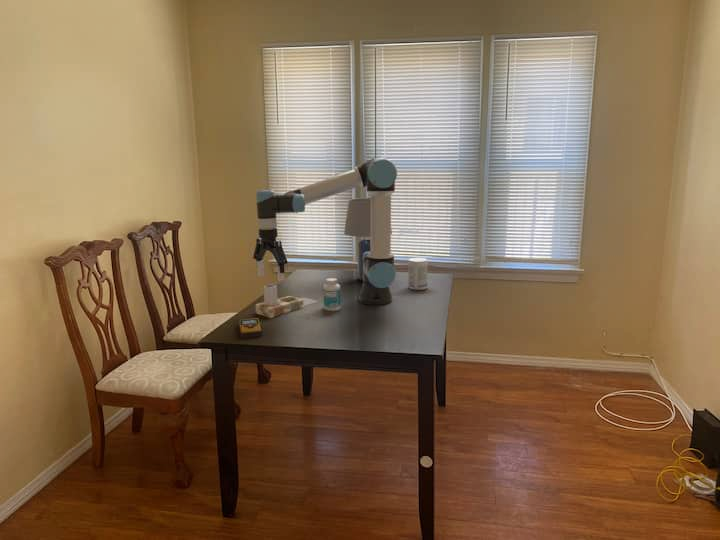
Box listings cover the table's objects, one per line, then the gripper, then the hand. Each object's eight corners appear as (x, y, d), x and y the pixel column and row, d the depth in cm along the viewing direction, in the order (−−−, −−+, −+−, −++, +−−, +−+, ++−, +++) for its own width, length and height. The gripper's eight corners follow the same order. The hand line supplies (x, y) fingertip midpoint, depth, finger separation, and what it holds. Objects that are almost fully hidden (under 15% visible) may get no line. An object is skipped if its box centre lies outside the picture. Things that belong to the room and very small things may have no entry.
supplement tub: (427, 286, 265) (428, 257, 262) (426, 290, 256) (427, 261, 253) (408, 285, 267) (409, 257, 264) (407, 290, 258) (407, 261, 254)
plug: (278, 313, 222) (276, 284, 219) (270, 315, 219) (269, 286, 216) (272, 311, 224) (271, 283, 222) (264, 313, 222) (263, 284, 219)
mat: (318, 302, 237) (318, 301, 237) (302, 307, 230) (302, 306, 230) (304, 298, 244) (304, 297, 244) (287, 302, 237) (287, 301, 237)
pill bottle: (333, 305, 232) (332, 276, 229) (344, 309, 227) (343, 279, 224) (320, 309, 227) (319, 279, 224) (331, 312, 222) (330, 282, 219)
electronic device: (240, 340, 192) (239, 332, 191) (238, 326, 206) (237, 318, 206) (263, 338, 194) (262, 329, 193) (259, 324, 209) (259, 316, 208)
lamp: (348, 273, 292) (348, 197, 283) (393, 274, 289) (394, 197, 279) (341, 284, 268) (339, 201, 258) (389, 286, 265) (390, 202, 255)
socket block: (303, 308, 228) (303, 299, 227) (270, 318, 215) (270, 308, 214) (288, 304, 235) (288, 295, 234) (256, 313, 222) (255, 303, 221)
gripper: (294, 229, 208) (297, 280, 213) (257, 224, 224) (260, 272, 229) (279, 231, 202) (282, 284, 207) (242, 226, 219) (246, 275, 224)
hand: (271, 278), depth 218 cm, fingers open, 13 cm apart
